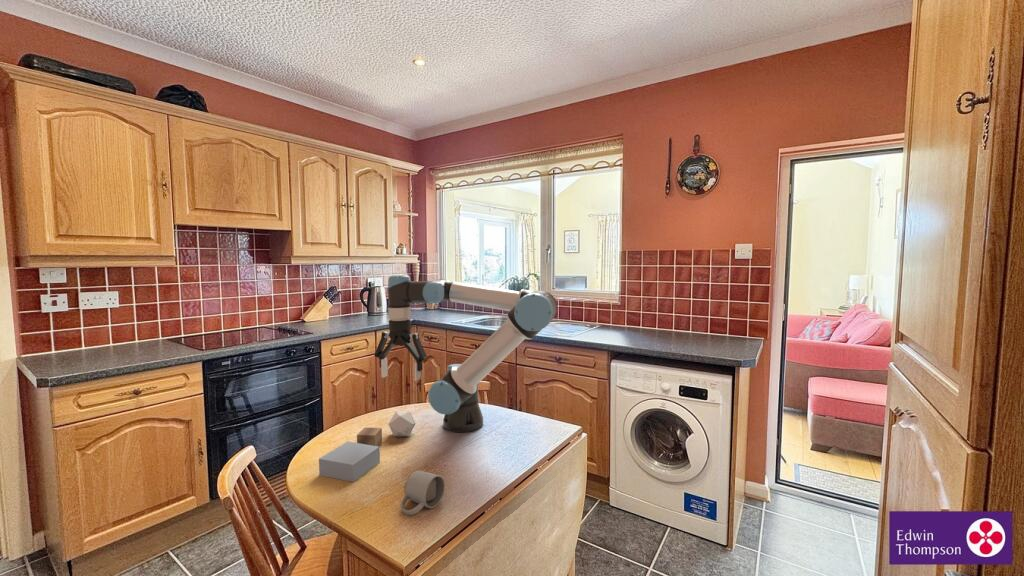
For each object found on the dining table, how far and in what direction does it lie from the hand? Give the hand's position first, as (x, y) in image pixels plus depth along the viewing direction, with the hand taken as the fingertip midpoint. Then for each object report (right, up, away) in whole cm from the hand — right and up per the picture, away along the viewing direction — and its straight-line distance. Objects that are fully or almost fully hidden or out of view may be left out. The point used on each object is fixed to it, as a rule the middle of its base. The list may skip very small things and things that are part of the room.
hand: (400, 378), depth 147 cm
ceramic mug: (+16, -24, -41) cm, 50 cm away
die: (0, -21, +1) cm, 21 cm away
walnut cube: (-8, -21, -10) cm, 25 cm away
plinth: (-9, -22, -23) cm, 33 cm away
